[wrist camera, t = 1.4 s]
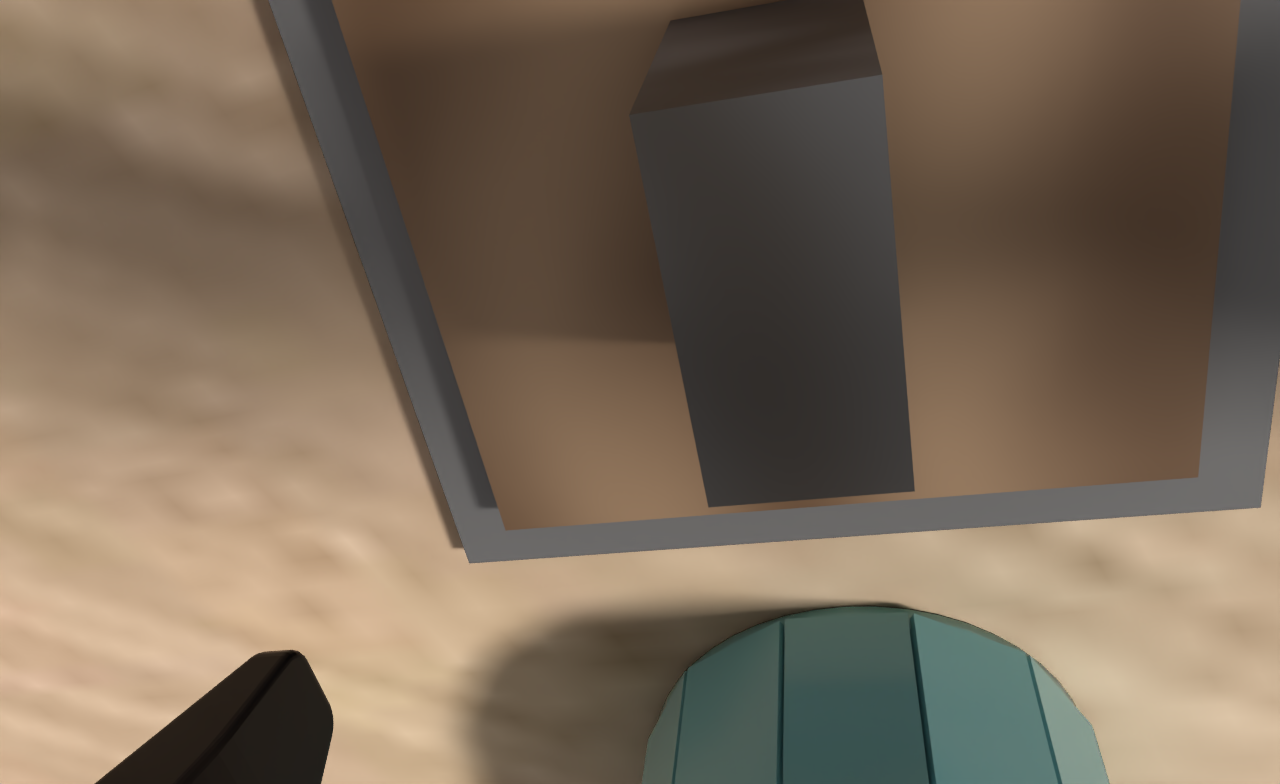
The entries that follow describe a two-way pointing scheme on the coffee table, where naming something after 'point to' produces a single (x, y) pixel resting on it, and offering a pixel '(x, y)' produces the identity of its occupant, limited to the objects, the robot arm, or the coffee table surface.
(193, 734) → the robot arm
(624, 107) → the lid
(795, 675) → the teal bowl
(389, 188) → the mat
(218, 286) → the coffee table surface
